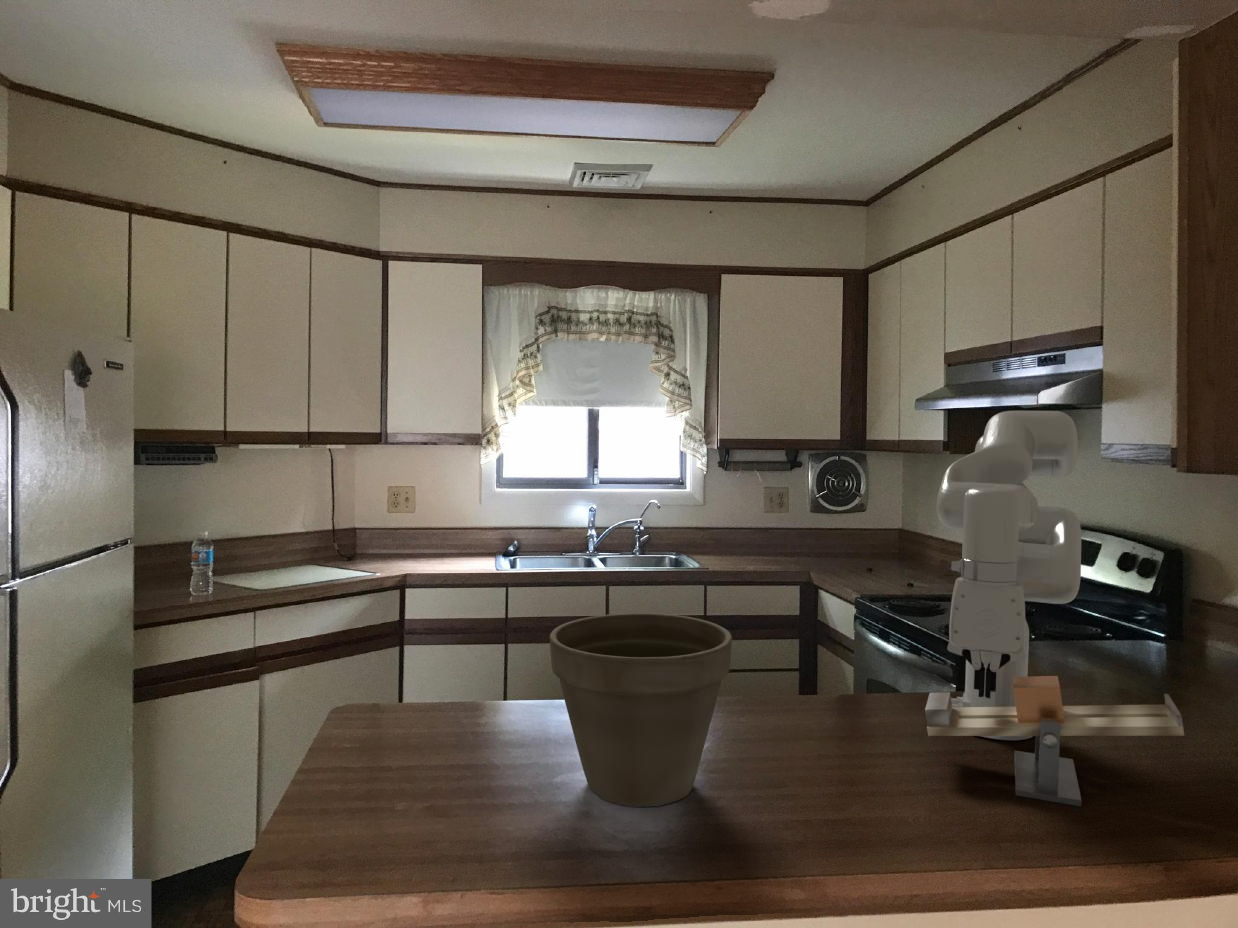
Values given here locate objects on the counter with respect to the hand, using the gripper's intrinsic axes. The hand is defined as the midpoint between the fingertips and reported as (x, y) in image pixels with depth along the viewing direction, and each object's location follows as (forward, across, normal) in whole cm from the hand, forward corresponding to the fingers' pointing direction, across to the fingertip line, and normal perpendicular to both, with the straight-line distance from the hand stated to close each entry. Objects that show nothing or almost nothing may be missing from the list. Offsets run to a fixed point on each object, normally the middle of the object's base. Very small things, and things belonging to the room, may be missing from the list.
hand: (984, 694), depth 129 cm
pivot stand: (+11, +8, 0) cm, 14 cm away
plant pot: (+11, -43, -28) cm, 53 cm away
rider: (+3, +8, 0) cm, 8 cm away
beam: (+3, +8, 0) cm, 9 cm away
